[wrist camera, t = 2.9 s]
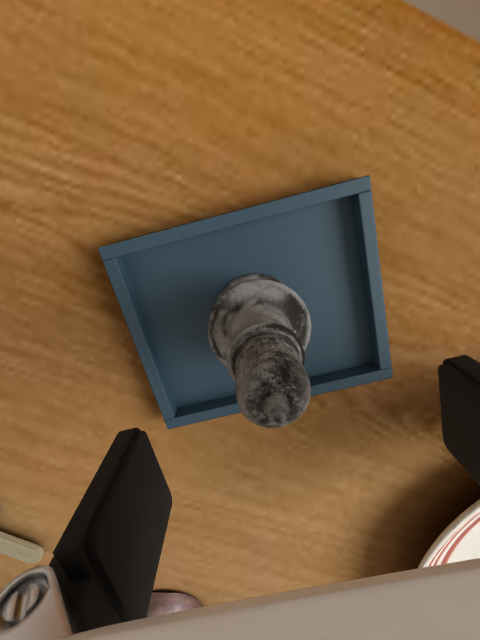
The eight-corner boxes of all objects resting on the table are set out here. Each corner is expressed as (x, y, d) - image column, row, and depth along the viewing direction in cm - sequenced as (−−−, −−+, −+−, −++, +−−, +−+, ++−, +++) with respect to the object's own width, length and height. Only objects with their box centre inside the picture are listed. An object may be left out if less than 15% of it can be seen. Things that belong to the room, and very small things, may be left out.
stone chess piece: (197, 332, 22) (160, 460, 11) (234, 252, 21) (236, 305, 9) (274, 365, 23) (314, 514, 12) (315, 291, 22) (408, 382, 10)
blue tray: (107, 245, 21) (97, 247, 19) (359, 177, 20) (370, 174, 18) (171, 416, 25) (167, 429, 23) (383, 367, 24) (393, 377, 22)
